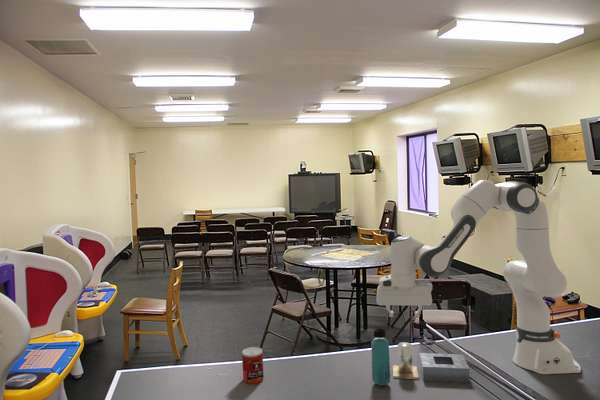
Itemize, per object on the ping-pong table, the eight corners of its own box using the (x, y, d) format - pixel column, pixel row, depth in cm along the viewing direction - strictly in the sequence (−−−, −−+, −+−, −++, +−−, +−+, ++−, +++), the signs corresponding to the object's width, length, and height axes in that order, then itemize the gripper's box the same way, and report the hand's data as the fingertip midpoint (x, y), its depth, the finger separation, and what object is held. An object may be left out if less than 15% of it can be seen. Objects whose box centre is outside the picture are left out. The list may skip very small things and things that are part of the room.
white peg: (412, 368, 165) (411, 342, 164) (413, 374, 160) (412, 348, 159) (398, 367, 166) (397, 342, 165) (398, 373, 160) (398, 347, 160)
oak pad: (416, 368, 166) (416, 366, 166) (418, 379, 157) (418, 377, 157) (392, 367, 168) (392, 365, 168) (393, 378, 159) (393, 375, 159)
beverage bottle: (386, 390, 150) (385, 334, 149) (368, 386, 153) (367, 331, 152) (393, 382, 155) (392, 328, 154) (375, 378, 159) (374, 325, 158)
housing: (463, 367, 166) (462, 354, 165) (469, 382, 154) (469, 368, 154) (419, 365, 168) (419, 353, 168) (423, 380, 157) (422, 366, 156)
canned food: (247, 386, 156) (246, 357, 156) (240, 377, 164) (238, 349, 163) (267, 381, 160) (265, 352, 159) (259, 373, 167) (257, 345, 166)
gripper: (431, 277, 162) (432, 314, 163) (375, 278, 165) (376, 313, 166) (433, 282, 156) (434, 319, 156) (375, 282, 159) (376, 319, 160)
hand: (404, 316), depth 161 cm, fingers open, 8 cm apart
